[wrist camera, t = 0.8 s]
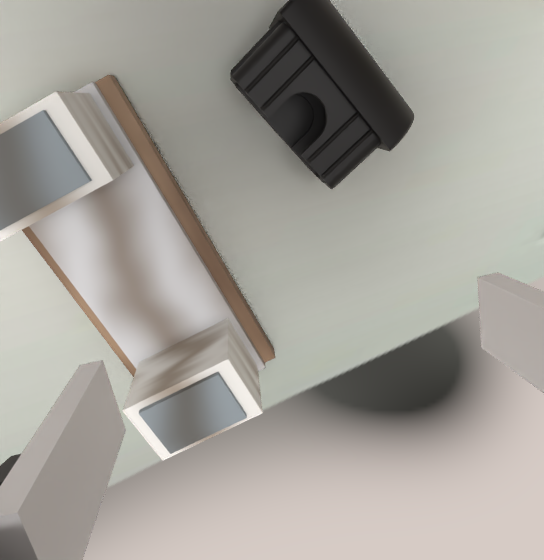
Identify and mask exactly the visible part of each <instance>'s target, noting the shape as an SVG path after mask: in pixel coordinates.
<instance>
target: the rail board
mask: <svg viewBox="0 0 544 560" xmlns="http://www.w3.org/2000/svg"><path fill="white" fill-rule="evenodd" d="M20 230H22V231H23V232H24V233H25V235H26V236H27V237H28V239H29V240H30V241H31V243H32V244H33V245H34V247H35V248H36V249H37V251H38V252H39V253H40V255H41V256H42V257H43V258H44V260H45V261H46V262H47V264H48V265H49V266H50V268H51V269H52V270H53V272H54V273H55V274H56V276H57V277H58V278H59V280H60V281H61V282H62V283H63V285H64V286H65V287H66V289H67V290H68V291H69V293H70V294H71V295H72V297H73V298H74V299H75V301H76V302H77V303H78V305H79V306H80V307H81V308H82V310H83V311H84V312H85V314H86V315H87V316H88V318H89V319H90V320H91V322H92V323H93V324H94V326H95V327H96V328H97V330H98V331H99V332H100V333H101V335H102V336H103V337H104V339H105V340H106V341H107V343H108V344H109V345H110V347H111V348H112V349H113V351H114V352H115V353H116V355H117V356H118V357H119V358H120V360H121V361H122V362H123V364H124V365H125V366H126V368H127V369H128V370H129V372H130V373H131V374H132V376H133V377H134V378H133V381H132V384H131V387H130V390H129V393H128V396H127V399H126V402H125V405H124V408H123V412H124V413H125V414H126V416H127V417H128V418H129V419H130V421H131V422H132V423H133V424H134V426H135V427H136V428H137V429H138V431H139V432H140V433H141V434H142V436H143V437H144V438H145V439H146V441H147V442H148V443H149V444H150V446H151V447H152V448H153V449H154V451H155V452H156V453H157V454H158V456H159V457H160V458H161V459H162V461H163V460H165V459H167V458H169V457H171V456H173V455H176V454H178V453H180V452H182V451H184V450H186V449H188V448H190V447H192V446H194V445H197V444H199V443H201V442H203V441H205V440H207V439H209V438H211V437H213V436H216V435H218V434H220V433H222V432H224V431H226V430H228V429H230V428H232V427H234V426H237V425H239V424H241V423H243V422H245V421H247V420H249V419H251V418H253V417H255V416H258V415H260V414H262V413H263V411H262V402H261V394H260V385H259V376H258V371H260V370H262V369H264V368H265V362H267V361H269V360H271V359H273V358H275V353H274V348H273V346H272V345H271V343H270V341H269V340H268V338H267V336H266V335H265V333H264V331H263V329H262V328H261V326H260V324H259V323H258V321H257V319H256V317H255V316H254V314H253V312H252V311H251V309H250V307H249V305H248V304H247V302H246V300H245V299H244V297H243V295H242V294H241V292H240V290H239V288H238V287H237V285H236V283H235V282H234V280H233V278H232V276H231V275H230V273H229V271H228V270H227V268H226V266H225V264H224V263H223V261H222V259H221V258H220V256H219V254H218V253H217V251H216V249H215V247H214V246H213V244H212V242H211V241H210V239H209V237H208V235H207V234H206V232H205V230H204V229H203V227H202V225H201V223H200V222H199V220H198V218H197V217H196V215H195V213H194V212H193V210H192V208H191V206H190V205H189V203H188V201H187V200H186V198H185V196H184V194H183V193H182V191H181V189H180V188H179V186H178V184H177V182H176V181H175V179H174V177H173V176H172V174H171V172H170V171H169V169H168V167H167V165H166V164H165V162H164V160H163V159H162V157H161V155H160V153H159V152H158V150H157V148H156V147H155V145H154V143H153V141H152V140H151V138H150V136H149V135H148V133H147V131H146V130H145V128H144V126H143V124H142V123H141V121H140V119H139V118H138V116H137V114H136V112H135V111H134V109H133V107H132V106H131V104H130V102H129V100H128V99H127V97H126V95H125V94H124V92H123V90H122V89H121V87H120V85H119V83H118V82H117V80H116V78H115V77H114V76H112V75H107V76H106V77H104V78H102V79H100V80H98V81H97V82H91V83H89V84H87V85H85V86H84V87H82V88H80V89H78V90H76V91H75V92H61V91H56V92H54V93H52V94H50V95H49V96H47V97H45V98H43V99H42V100H40V101H38V102H36V103H35V104H33V105H31V106H29V107H28V108H26V109H24V110H22V111H21V112H19V113H17V114H15V115H14V116H12V117H10V118H8V119H7V120H5V121H3V122H1V123H0V241H2V240H4V239H6V238H8V237H9V236H11V235H13V234H15V233H17V232H19V231H20Z"/></svg>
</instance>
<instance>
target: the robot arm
mask: <svg viewBox="0 0 544 560" xmlns="http://www.w3.org/2000/svg"><path fill="white" fill-rule="evenodd" d="M477 281H478V298H479V315H480V330H481V347H482V349H484V350H485V351H487V352H488V353H489V354H491V355H492V356H493V357H495V358H496V359H498V360H499V361H500V362H502V363H503V364H505V365H506V366H507V367H509V368H510V369H511V370H513V371H514V372H515V373H517V374H518V375H519V376H521V377H522V378H524V379H525V380H526V381H528V382H529V383H530V384H532V385H533V386H534V387H536V388H537V389H539V390H540V391H541V392H543V393H544V291H541V290H539V289H536V288H534V287H532V286H529V285H527V284H524V283H522V282H520V281H517V280H515V279H512V278H510V277H508V276H505V275H503V274H501V273H493V274H489V275H484V276H480V277H477ZM125 431H126V429H125V426H124V423H123V420H122V417H121V414H120V411H119V408H118V405H117V402H116V399H115V396H114V393H113V390H112V387H111V384H110V381H109V378H108V375H107V372H106V369H105V365H104V362H103V360H101V361H97V362H92V363H88V364H83V365H80V366H79V367H78V369H77V370H76V372H75V373H74V375H73V376H72V378H71V379H70V381H69V382H68V384H67V385H66V387H65V388H64V390H63V391H62V393H61V394H60V396H59V397H58V399H57V401H56V402H55V404H54V405H53V407H52V408H51V410H50V411H49V413H48V414H47V416H46V417H45V419H44V420H43V422H42V423H41V425H40V426H39V428H38V429H37V431H36V433H35V434H34V436H33V437H32V439H31V440H30V442H29V443H28V445H27V446H26V448H25V449H24V451H23V452H22V454H18V455H14V456H11V457H10V458H9V459H7V460H6V461H5V462H4V463H3V464H2V465H0V560H83V557H84V554H85V551H86V548H87V545H88V542H89V539H90V536H91V533H92V530H93V527H94V524H95V521H96V518H97V515H98V512H99V509H100V506H101V503H102V500H103V497H104V494H105V491H106V488H107V485H108V482H109V479H110V476H111V473H112V470H113V467H114V464H115V461H116V458H117V455H118V452H119V449H120V446H121V443H122V440H123V437H124V434H125Z"/></svg>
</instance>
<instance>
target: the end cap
mask: <svg viewBox="0 0 544 560" xmlns="http://www.w3.org/2000/svg"><path fill="white" fill-rule="evenodd" d="M269 29H270V30H269V31H268V32H267V33H266V34H265V35H264V36H263V37H262V38H261V39H260V40H259V41H258V42H257V43H256V44H255V46H254V47H253V48H252V49H251V50H250V51H249V52H248V53H247V54H246V55H245V56H244V57H243V58H242V59H241V60H240V61H239V63H238V64H237V65H236V66H235V67H234V68H233V69H232V70H231V81H232V82H233V83H234V84H235V86H236V88H237V89H238V90H239V91H240V92H241V93H242V94H243V95H244V96H245V98H246V99H247V100H248V101H249V102H250V103H251V104H252V105H253V107H254V108H255V109H256V110H257V111H258V112H259V113H260V114H261V116H262V117H263V118H264V119H265V120H266V121H267V122H268V123H269V124H270V126H271V127H272V128H273V129H274V130H275V131H276V132H277V133H278V135H279V136H280V137H281V138H282V139H283V140H284V141H285V142H286V144H287V145H288V146H289V147H290V148H291V149H292V150H293V151H294V152H295V154H296V155H297V156H298V157H299V158H300V159H301V160H302V161H303V163H304V164H305V165H306V166H307V167H308V168H309V169H310V170H311V171H312V172H313V173H314V174H315V175H316V176H317V177H318V178H319V179H320V180H321V181H322V182H323V183H325V184H326V185H327V186H328V187H329V188H330V189H333V188H334V187H336V186H337V185H338V184H339V183H340V182H341V181H342V180H343V179H344V178H345V177H346V176H347V175H348V174H349V173H350V172H352V171H353V170H354V169H355V168H356V167H357V166H358V165H359V164H360V163H361V162H362V161H363V160H364V159H365V158H367V157H368V156H369V155H370V154H371V153H372V152H373V151H374V150H375V149H376V148H380V149H384V150H387V151H391V150H392V149H393V148H394V147H395V146H396V145H397V144H398V143H399V142H400V140H401V139H402V138H403V137H404V136H405V134H406V133H407V132H408V130H409V128H410V127H411V125H412V123H413V120H414V113H413V112H412V110H411V109H410V107H409V106H408V105H407V103H406V102H405V101H404V99H403V98H402V97H401V95H400V94H399V93H398V91H397V90H396V89H395V87H394V86H393V85H392V83H391V82H390V81H389V79H388V78H387V77H386V75H385V74H384V73H383V71H382V70H381V69H380V67H379V66H378V65H377V63H376V62H375V61H374V59H373V58H372V57H371V55H370V54H369V53H368V51H367V50H366V49H365V47H364V46H363V45H362V43H361V42H360V41H359V39H358V38H357V37H356V35H355V34H354V33H353V31H352V30H351V29H350V27H349V26H348V24H347V23H346V22H345V20H344V19H343V18H342V16H341V15H340V14H339V12H338V11H337V10H336V8H335V7H334V6H333V4H332V3H331V2H330V0H289V1H288V2H287V3H286V4H285V5H284V6H283V7H282V8H281V9H280V10H279V11H278V13H277V14H276V16H275V18H274V20H273V22H272V23H271V25H270V27H269Z"/></svg>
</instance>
